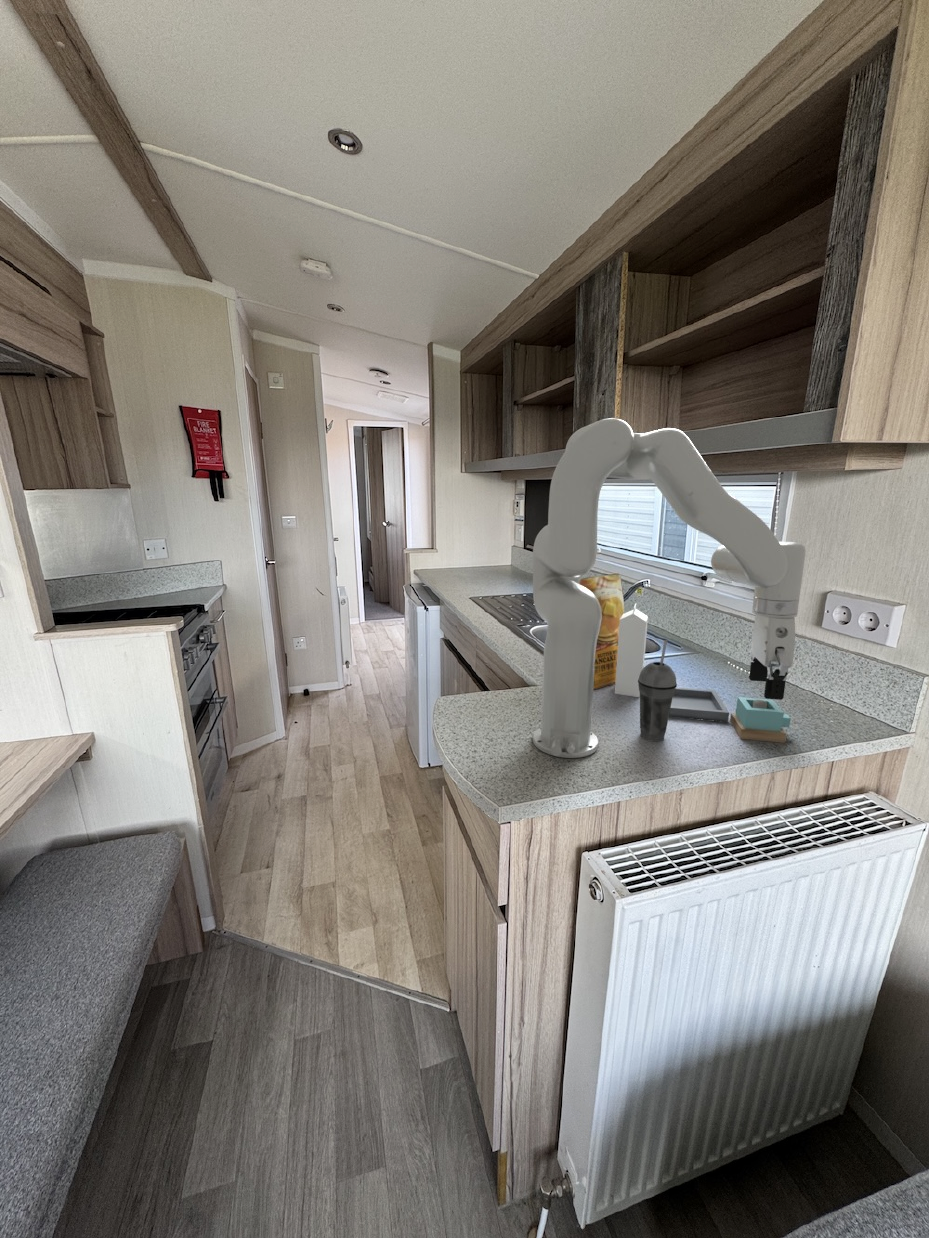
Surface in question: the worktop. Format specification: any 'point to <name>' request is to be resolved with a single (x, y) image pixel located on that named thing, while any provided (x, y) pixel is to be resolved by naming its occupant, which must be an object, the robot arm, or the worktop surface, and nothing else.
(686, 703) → the tray
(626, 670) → the milk
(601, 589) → the pancake mix bag
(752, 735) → the wooden peg base
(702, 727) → the worktop surface
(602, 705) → the worktop surface
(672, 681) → the beverage cup
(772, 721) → the collar
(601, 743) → the worktop surface
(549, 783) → the worktop surface
